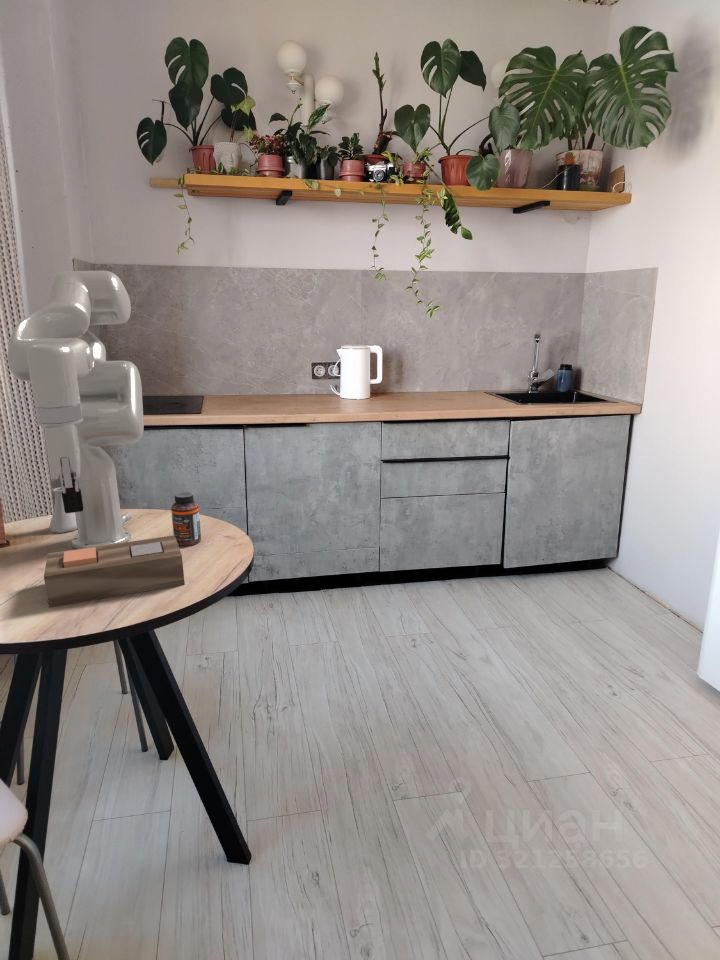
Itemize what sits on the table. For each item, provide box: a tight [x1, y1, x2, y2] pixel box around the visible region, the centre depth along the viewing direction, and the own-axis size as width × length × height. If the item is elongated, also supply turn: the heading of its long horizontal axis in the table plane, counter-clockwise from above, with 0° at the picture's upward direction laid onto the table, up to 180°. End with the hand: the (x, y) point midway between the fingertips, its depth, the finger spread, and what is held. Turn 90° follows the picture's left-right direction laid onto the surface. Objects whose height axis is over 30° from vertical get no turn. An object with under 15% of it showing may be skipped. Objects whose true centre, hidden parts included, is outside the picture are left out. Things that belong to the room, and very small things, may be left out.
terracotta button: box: [63, 547, 98, 568], centre depth 127 cm, size 6×6×5 cm
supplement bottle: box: [170, 491, 202, 547], centre depth 149 cm, size 6×6×11 cm
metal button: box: [131, 542, 163, 557], centre depth 131 cm, size 6×6×5 cm
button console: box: [43, 534, 186, 608], centre depth 129 cm, size 12×24×6 cm, turn 111°
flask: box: [48, 486, 77, 534], centre depth 160 cm, size 7×7×10 cm
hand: (74, 510), depth 125 cm, fingers closed
